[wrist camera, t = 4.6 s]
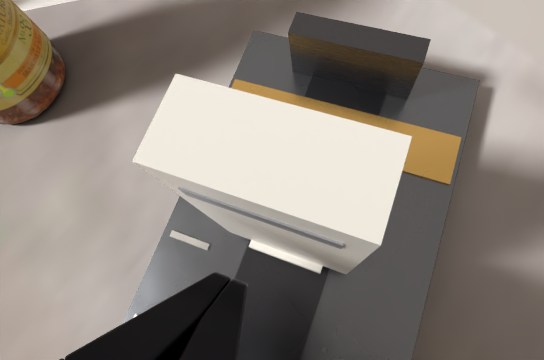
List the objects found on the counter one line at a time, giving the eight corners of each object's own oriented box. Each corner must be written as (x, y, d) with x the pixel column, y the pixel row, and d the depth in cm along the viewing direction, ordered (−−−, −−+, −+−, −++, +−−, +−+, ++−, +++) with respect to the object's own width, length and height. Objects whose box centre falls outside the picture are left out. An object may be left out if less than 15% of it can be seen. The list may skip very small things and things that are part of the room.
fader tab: (343, 282, 15) (376, 261, 6) (231, 241, 16) (125, 174, 7) (361, 220, 16) (415, 122, 7) (253, 184, 17) (181, 62, 8)
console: (327, 664, 13) (331, 830, 9) (57, 498, 15) (-33, 568, 11) (469, 93, 19) (510, 39, 15) (257, 44, 21) (243, -14, 17)
